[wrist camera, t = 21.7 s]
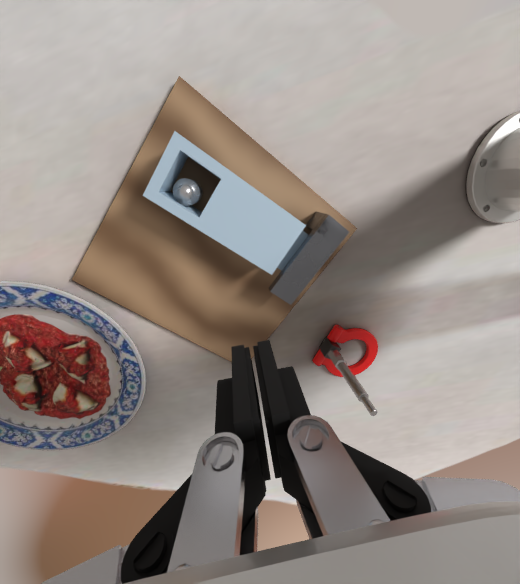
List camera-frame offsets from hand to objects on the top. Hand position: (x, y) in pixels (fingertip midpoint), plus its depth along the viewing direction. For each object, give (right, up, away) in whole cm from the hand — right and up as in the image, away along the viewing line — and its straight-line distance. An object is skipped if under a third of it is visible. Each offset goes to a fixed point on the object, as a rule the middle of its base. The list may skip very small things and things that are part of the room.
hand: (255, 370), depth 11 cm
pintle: (-7, +15, +17) cm, 24 cm away
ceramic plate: (-28, -6, +23) cm, 37 cm away
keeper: (+5, +8, +20) cm, 22 cm away
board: (-5, +8, +20) cm, 22 cm away
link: (-2, +12, +18) cm, 22 cm away
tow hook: (+13, -5, +28) cm, 32 cm away
